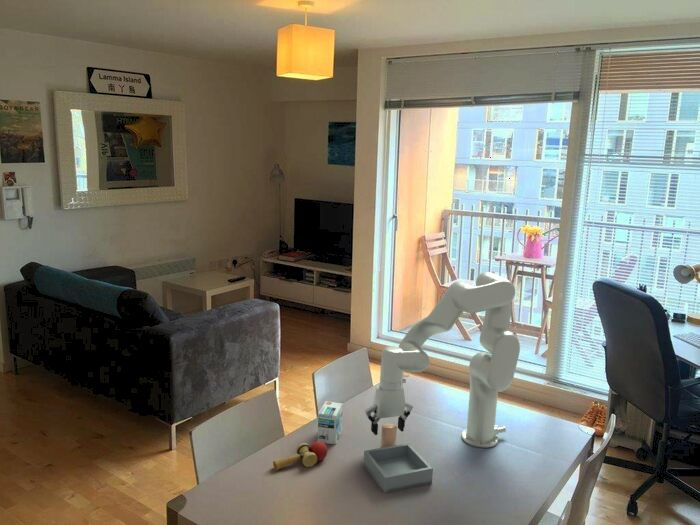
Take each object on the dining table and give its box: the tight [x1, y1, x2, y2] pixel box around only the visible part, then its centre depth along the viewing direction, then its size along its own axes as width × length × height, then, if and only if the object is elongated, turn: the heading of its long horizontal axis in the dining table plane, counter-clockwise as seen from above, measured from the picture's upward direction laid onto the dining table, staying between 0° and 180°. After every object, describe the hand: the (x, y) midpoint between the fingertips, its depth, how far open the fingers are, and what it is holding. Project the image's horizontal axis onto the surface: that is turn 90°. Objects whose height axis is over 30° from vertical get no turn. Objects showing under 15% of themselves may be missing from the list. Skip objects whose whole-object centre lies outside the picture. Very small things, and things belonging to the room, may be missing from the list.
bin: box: [363, 443, 434, 494], centre depth 177 cm, size 16×16×5 cm
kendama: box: [272, 440, 328, 471], centre depth 181 cm, size 8×6×18 cm
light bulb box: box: [317, 400, 344, 445], centre depth 199 cm, size 11×7×11 cm, turn 168°
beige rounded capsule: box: [380, 423, 398, 448], centre depth 192 cm, size 5×5×8 cm
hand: (387, 431), depth 191 cm, fingers open, 9 cm apart
